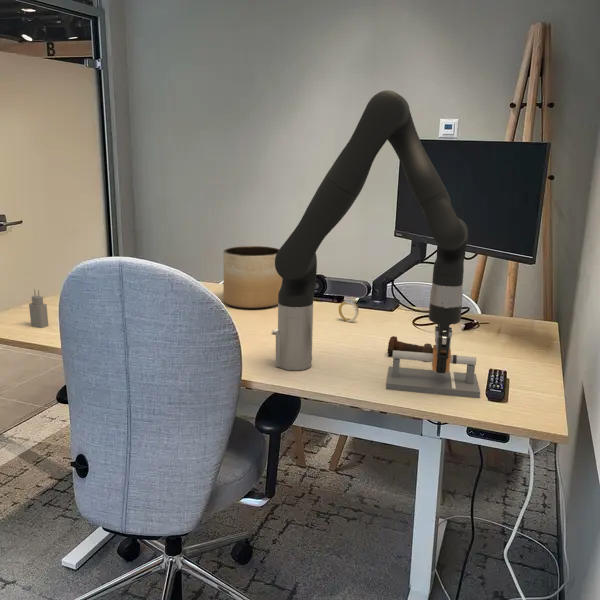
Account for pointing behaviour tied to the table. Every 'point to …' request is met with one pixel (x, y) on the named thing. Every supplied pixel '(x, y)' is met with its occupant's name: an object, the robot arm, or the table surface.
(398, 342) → the bolt
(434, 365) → the collar
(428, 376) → the pipe stand
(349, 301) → the ring
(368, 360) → the table surface
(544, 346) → the table surface
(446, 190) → the robot arm
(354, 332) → the table surface
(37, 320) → the power adapter
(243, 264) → the planter
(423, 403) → the table surface
